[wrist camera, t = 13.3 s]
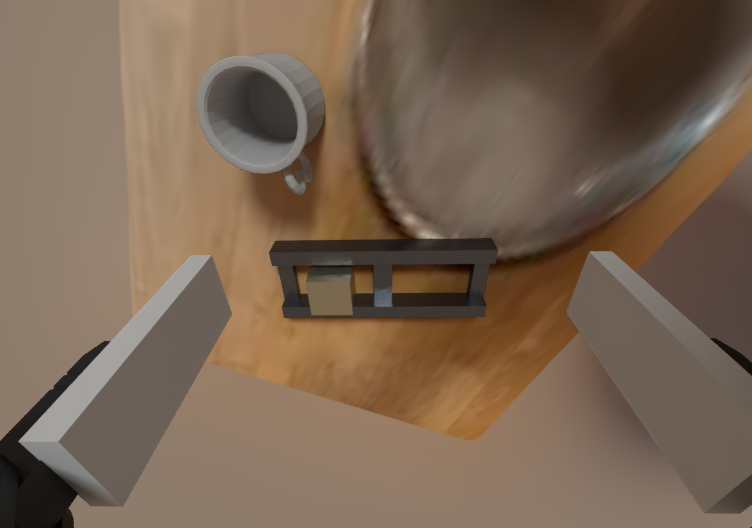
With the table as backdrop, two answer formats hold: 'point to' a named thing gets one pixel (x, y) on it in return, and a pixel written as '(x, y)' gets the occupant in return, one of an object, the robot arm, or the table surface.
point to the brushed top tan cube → (331, 289)
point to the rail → (388, 274)
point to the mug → (262, 114)
